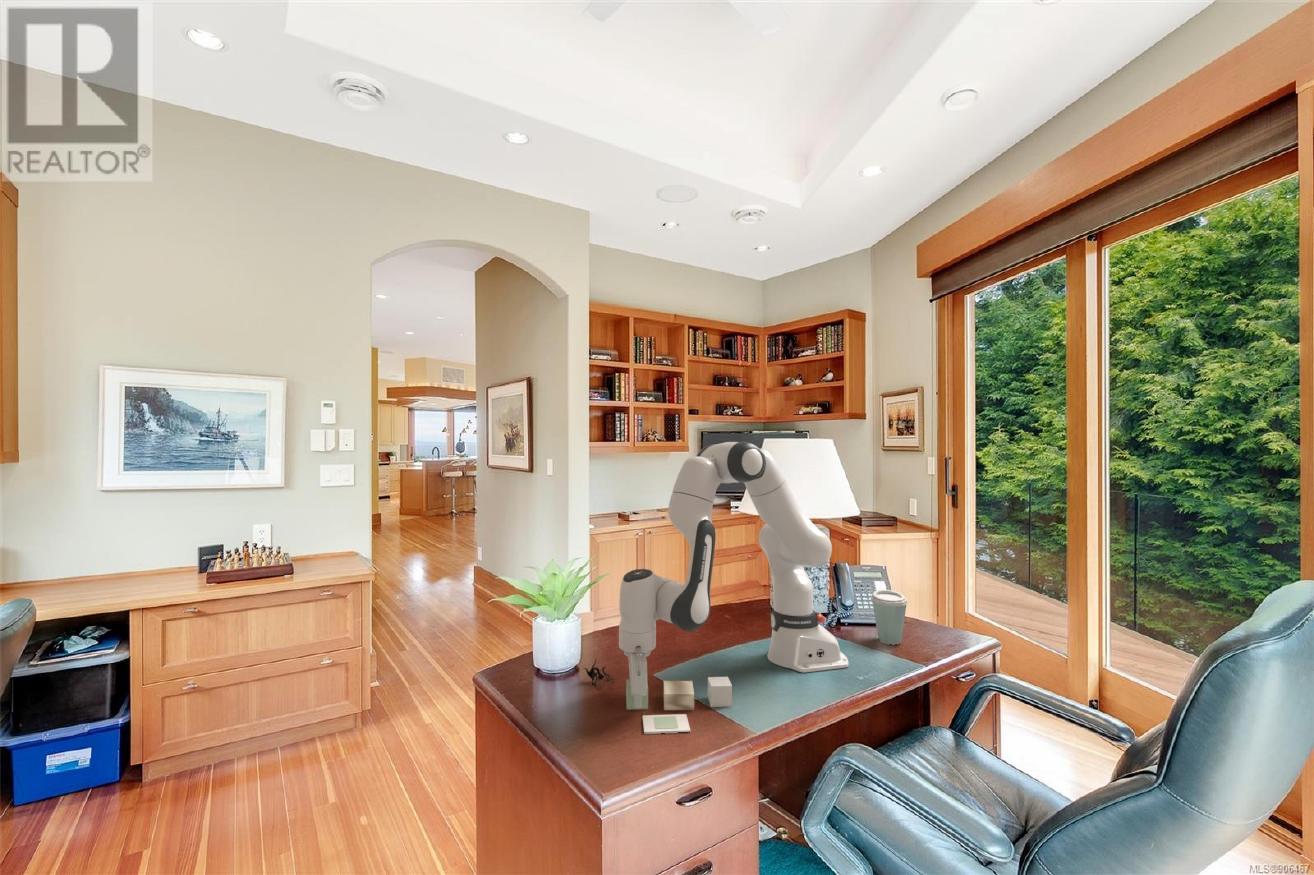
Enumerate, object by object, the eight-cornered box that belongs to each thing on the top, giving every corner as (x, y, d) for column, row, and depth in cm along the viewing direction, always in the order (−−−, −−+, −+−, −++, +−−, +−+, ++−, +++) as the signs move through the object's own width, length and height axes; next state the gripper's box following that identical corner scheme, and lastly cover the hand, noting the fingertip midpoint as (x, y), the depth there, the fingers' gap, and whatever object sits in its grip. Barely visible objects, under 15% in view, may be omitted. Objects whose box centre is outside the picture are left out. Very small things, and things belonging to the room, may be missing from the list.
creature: (619, 684, 145) (593, 672, 148) (623, 665, 145) (597, 653, 148) (605, 697, 138) (578, 684, 141) (609, 677, 137) (582, 664, 140)
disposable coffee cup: (913, 648, 169) (913, 599, 169) (877, 647, 169) (878, 598, 169) (898, 635, 179) (899, 589, 179) (865, 635, 180) (865, 589, 180)
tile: (686, 716, 126) (686, 713, 126) (690, 732, 119) (690, 730, 119) (642, 717, 126) (642, 715, 126) (644, 734, 119) (644, 731, 119)
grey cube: (727, 697, 136) (727, 676, 136) (731, 706, 131) (732, 685, 131) (707, 697, 136) (707, 677, 136) (711, 707, 131) (711, 686, 131)
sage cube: (646, 699, 135) (646, 678, 135) (647, 709, 130) (648, 688, 130) (626, 699, 134) (626, 679, 134) (626, 710, 129) (626, 688, 129)
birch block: (692, 697, 136) (692, 681, 136) (694, 711, 129) (694, 694, 129) (663, 697, 136) (663, 680, 136) (664, 711, 129) (664, 694, 129)
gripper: (653, 656, 122) (653, 718, 122) (647, 624, 142) (647, 678, 142) (625, 656, 121) (624, 719, 121) (623, 625, 142) (623, 679, 142)
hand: (636, 697), depth 132 cm, fingers open, 8 cm apart
